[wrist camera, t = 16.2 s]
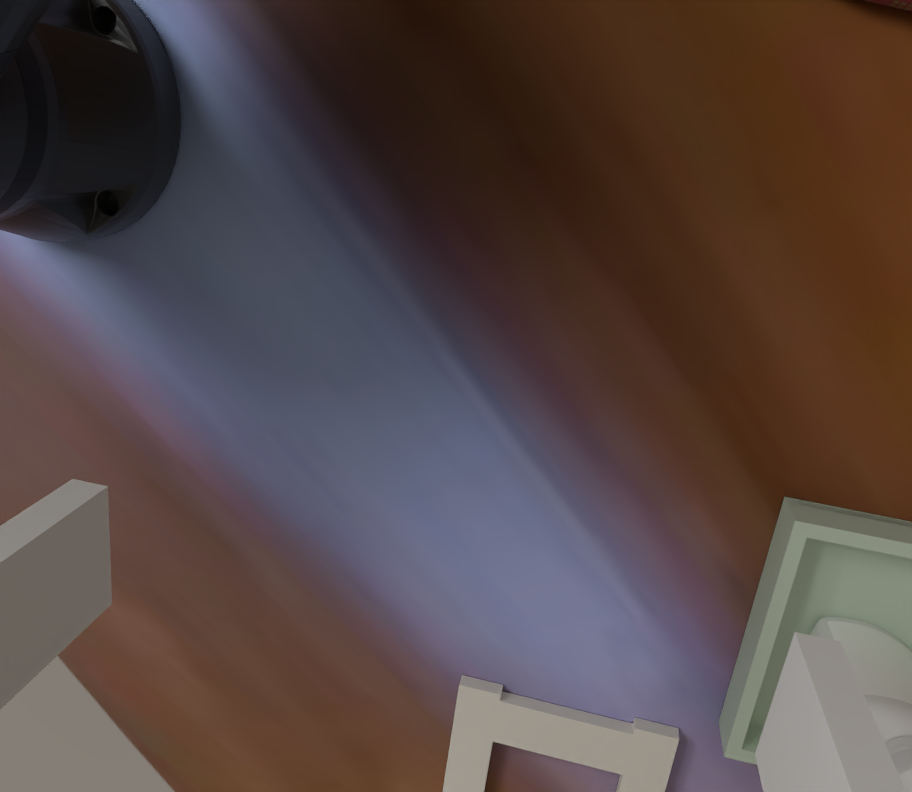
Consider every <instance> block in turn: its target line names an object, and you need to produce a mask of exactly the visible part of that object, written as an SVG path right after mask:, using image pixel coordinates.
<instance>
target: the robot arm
mask: <svg viewBox="0 0 912 792" xmlns="http://www.w3.org/2000/svg"><path fill="white" fill-rule="evenodd" d="M179 137H180V107H179V98H178V91H177V87H176V82H175V78H174V74H173V71H172V68H171V65H170V62H169V59H168V57H167V54H166V52H165V50H164V47H163V45H162V43H161V41H160V39H159V37H158V36H157V34H156V32H155V30H154V29H153V27H152V26H151V24H150V23H149V21H148V20H147V18H146V17H145V16H144V14H143V13H142V12H141V10H140V9H139V8H138V7H137V6H136V5H135V3H134V2H133V1H132V0H0V230H3V231H7V232H10V233H14V234H17V235H21V236H24V237H28V238H31V239H36V240H41V241H49V242H73V241H80V240H86V239H92V238H98V237H102V236H107V235H110V234H113V233H116V232H118V231H120V230H122V229H124V228H126V227H128V226H130V225H131V224H133V223H134V222H136V221H137V220H138V219H139V218H141V217H142V216H143V215H144V214H145V213H146V212H147V211H148V210H149V209H150V208H151V207H152V205H153V204H154V203H155V202H156V200H157V199H158V198H159V196H160V194H161V193H162V191H163V190H164V188H165V186H166V184H167V182H168V180H169V177H170V175H171V172H172V169H173V166H174V163H175V159H176V155H177V151H178V145H179ZM111 604H112V594H111V565H110V536H109V507H108V486H104V485H99V484H94V483H89V482H85V481H80V480H75V479H72V480H70V481H69V482H67V483H66V484H64V485H62V486H61V487H59V488H58V489H56V490H55V491H53V492H52V493H50V494H49V495H47V496H46V497H44V498H42V499H41V500H39V501H38V502H36V503H35V504H33V505H32V506H30V507H29V508H27V509H26V510H24V511H22V512H21V513H19V514H18V515H16V516H15V517H13V518H12V519H10V520H9V521H7V522H6V523H4V524H2V525H1V526H0V709H1V708H2V707H3V706H4V705H6V703H8V702H9V701H10V700H11V699H12V698H13V697H14V696H15V695H16V694H17V693H18V692H19V691H20V690H21V689H22V688H23V687H24V686H26V685H27V684H28V683H29V682H30V681H31V680H32V679H33V678H34V677H35V676H36V675H37V674H38V673H39V672H40V671H41V670H42V669H44V668H45V667H46V666H47V665H48V664H49V663H50V662H51V661H52V660H53V659H54V658H55V657H56V656H57V655H58V654H59V653H60V652H61V651H63V650H64V649H65V648H66V647H67V646H68V645H69V644H70V643H71V642H72V641H73V640H74V639H75V638H76V637H77V636H78V635H79V634H80V633H81V632H83V631H84V630H85V629H86V628H87V627H88V626H89V625H90V624H91V623H92V622H93V621H94V620H95V619H96V618H97V617H98V616H99V615H100V614H102V613H103V612H104V611H105V610H106V609H107V608H108V607H109V606H110V605H111ZM755 757H756V761H757V766H758V770H759V775H760V779H761V784H762V788H763V792H906V790H905V788H904V786H903V783H902V781H901V779H900V776H899V774H898V772H897V770H896V767H895V765H894V763H893V760H892V758H891V756H890V754H889V751H888V749H887V747H886V744H885V742H884V740H883V738H882V735H881V733H880V731H879V728H878V726H877V724H876V722H875V719H874V717H873V715H872V712H871V710H870V708H869V706H868V703H867V701H866V699H865V697H864V694H863V692H862V690H861V687H860V685H859V683H858V681H857V678H856V676H855V674H854V671H853V669H852V667H851V665H850V662H849V660H848V658H847V655H846V653H845V651H844V649H843V646H842V644H841V642H840V641H836V640H831V639H826V638H821V637H817V636H812V635H807V634H803V633H798V632H795V633H794V636H793V639H792V642H791V645H790V648H789V651H788V654H787V657H786V660H785V663H784V666H783V669H782V672H781V675H780V679H779V682H778V685H777V688H776V691H775V694H774V697H773V700H772V703H771V706H770V709H769V712H768V715H767V718H766V721H765V724H764V728H763V731H762V734H761V737H760V740H759V743H758V746H757V749H756V752H755Z"/></svg>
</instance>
